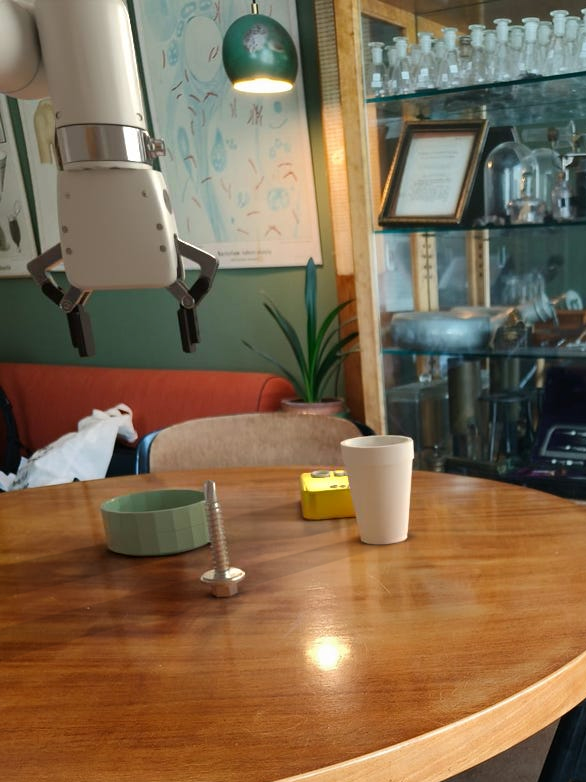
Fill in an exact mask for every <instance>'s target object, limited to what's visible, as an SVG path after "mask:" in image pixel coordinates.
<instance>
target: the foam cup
mask: <svg viewBox="0 0 586 782" xmlns="http://www.w3.org/2000/svg"><path fill="white" fill-rule="evenodd" d="M340 452H341V453H340V454H341V462H342V463H343V464H344V468H345V469H344V470H346V473H347V478H348V483H349V487H350V492H351V496H352V501H353V506H354V510H355V515H356V517H355V519H356V523H357V524H356V525H357V529H358V533H359V536H360V541H361V542H363V543H365V544H369V545H389V544H390V545H391V544H396V543H400V542H403V541H405V540H406V539H407V538H408V532H409V519H410V505H411V504H410V503H411V489H412V474H413V459H415V452H414V440H413V439H412V437H411V436H410V437H409V436H404V435H391V434H390V435H388V434H387V435H385V434H383V435H368V436H358V437H353V438H348V439H344V440H343V441H340Z"/></svg>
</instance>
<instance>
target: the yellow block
mask: <svg viewBox="0 0 586 782" xmlns="http://www.w3.org/2000/svg"><path fill="white" fill-rule="evenodd" d="M298 485H299V495H300V503H301V504H300V505H301V513H302V517H303V518H304V519H306V520H311V521H319V520H331V519H341V518H356V515H355V510H354V506H353V501H352V496H351V492H350V487H349V483H348V478H347V473H346V469H341V470H327V469H319V470H314V471H311V472H304V473H301V474H300V475H299V476H298Z"/></svg>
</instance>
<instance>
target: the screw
mask: <svg viewBox="0 0 586 782" xmlns="http://www.w3.org/2000/svg"><path fill="white" fill-rule="evenodd" d="M202 490H203V491H204V496H205V504H204V505H206V509H205V511H206V515H205V516H207V520H206V521H207V523H208V525H207V527H208V529H209V530H208V531H207V532H209V536H208V537H210V541H209V542H208V543H209V544H210V546H209V548H211V551H210V553H211V557H210V558H212V561H211V563H212V564H213V566H212V568H213V569H211V570H208V571H206V572H204V573H203V574H202V575H201V577H200V583H201V584H203V585H206V586H209V587H211V593H212V595H213V596H215V597H216V598H227V597H232V596H234V595H235V594H237V593H239V589H238V584H239V582H241V581H242V580H244V579H245V578H246V573H245V571H243V570H242V569H240V568H237V567H231V566H229V565H230V561H229V559H230V558H229V556H228V554H229V552H228V551H227V549H228V547H227V546H226V545H227V541H226V539H227V536H225V533H226V531H225V530H224V529H225V526H224V525H223V523H224V522H225V521H224V520H223V519H222V518H223V517H224V516H223V514H222V512H223V510H221V507H222V505H221V504H219V500H218V493H217V492H218V491H217V486H216V482H214V481H213V480H210V479H207V480H206V481H204V482H203V483H202Z"/></svg>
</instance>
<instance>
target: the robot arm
mask: <svg viewBox="0 0 586 782" xmlns="http://www.w3.org/2000/svg"><path fill="white" fill-rule="evenodd" d="M0 94H1V95H5V96H7V97H10V98H14V99H18V100H23V101H24V100H25V101H35V100H42V99H46V98H50V103H51V109H52V113H53V119H54V125H55V129H56V137H57V142H58V146H59V147H58V148H59V152H60V157H61V162H62V168H63V170H58V171H57V172H56V210H57V223H58V224H57V225H58V233H59V242H58V243H56V244H55V245H53V246H52V247H49V248H48V249H47V250H45V251H44V252H42V253H41V254H39V255H38V256H36V257H35V258H33V259H31V260H29V261H28V262H27V263H26V270H27V272H28V274H30V276H31V277H32V278H33V280H34V281H35V283H36V284H37V285H38V286H39V288H40V289H41V292H42V293H43V295H45V296H46V297H47V298H48V299H49V300H50V301H52V302H53V303H54V304H56V306H58V307H59V309H60V310H61V312H62V313H66V319H67V324H68V329H69V335H70V340H71V344H72V346H73V348H74V349H77V351H78V355H79V357H80V358H89V357H94V356H95V355H96V354H97V349H96V348H97V347H96V343H95V338H94V337H95V336H94V332H93V327H92V322H91V316H90V313H89V312H88V311H85V307H84V306H85V304H86V303H87V301H88V300H89V298H90V297H91V294H92V293H93V291H109V290H110V291H117V290H118V291H119V290H120V291H121V290H143V289H144V290H146V289H148V290H149V289H165V290H166V291H168V293H169V294H170V295H171V296H172V297H173V298H174V299H175V300H176V301H177V302H178V304H179V308H178V310H176V315H177V321H178V327H179V335H180V341H181V348H182V352H183V353H185V354H192V353H194V352H195V353H196V352H197V344H201V331H200V325H199V318H198V317H199V316H198V312H197V311H198V310H197V308H198V307H199V306H200V303H201V302H202V301H203V299H204V298H206V296H207V295H208V293H209V292H210V290H211V289H212V288H213V284H214V280H215V279H216V276H217V273H218V270H219V267H220V259H219V258H218V257H216V256H214V255H212V254H210V253H209V252H206V251H205V250H202V249H200V248H198V247H196V246H194V245H192V244H190V243H188V242H185V241H183V240H182V239H180V235H179V231H178V226H177V222H176V217H175V213H174V210H173V204H172V201H171V197H170V194H169V190H168V187H167V185H166V181H165V178H164V175H163V172H161V171H158V170H155V169H153V166H154V162H155V159H158V157H166V155H167V149H166V145H165V141H164V139H163V138H160V139H156V138H155V137H152V136H150V135H149V133H148V132H147V127H146V121H145V116H144V115H145V114H144V107H143V101H142V93H141V88H140V82H139V75H138V69H137V62H136V54H135V48H134V42H133V34H132V28H131V23H130V18H129V13H128V9H127V7H126V5H125V3H124V2H123V0H34V3H31V2H28V1H26V0H0ZM184 258H185V259H187V260H188V261H189V260H190V261H191V262H193V263H196V264H197V265H198V266H199V267H200V271H199V275H198V277H197V280H196V281H194V283H193V285H192V286H191V287H190V288H189V286H187V284H186V283H184V282H185V279H186V272H185V271H186V270H185V262H184ZM61 263H63V267H64V272H65V276H66V278H67V281H68V283H69V284H70V285H69V287H68V288H67V290H65V289H64V288H63V287H61V286H60V285H59V284H58V283H57V282H56V281H55V280H54V277H53V276H52V274H51V270H52V269H53V268H55V267H57V266H58V265H59V264H61Z"/></svg>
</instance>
